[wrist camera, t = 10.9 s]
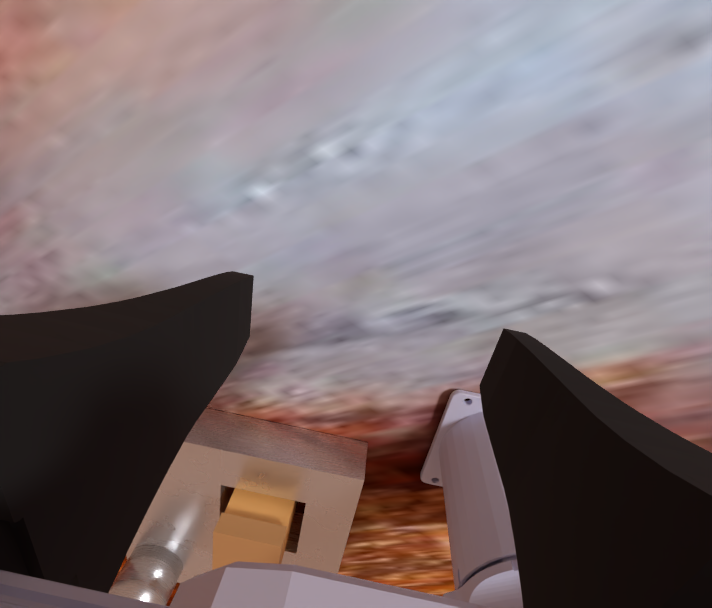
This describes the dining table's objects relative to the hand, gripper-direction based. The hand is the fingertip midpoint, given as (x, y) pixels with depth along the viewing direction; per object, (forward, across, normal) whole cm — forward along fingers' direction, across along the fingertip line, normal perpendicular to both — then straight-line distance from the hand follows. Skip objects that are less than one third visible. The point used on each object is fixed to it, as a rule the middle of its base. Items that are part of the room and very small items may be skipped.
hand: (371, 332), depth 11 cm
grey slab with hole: (+9, +6, +22) cm, 25 cm away
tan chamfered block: (+10, +4, +20) cm, 22 cm away
